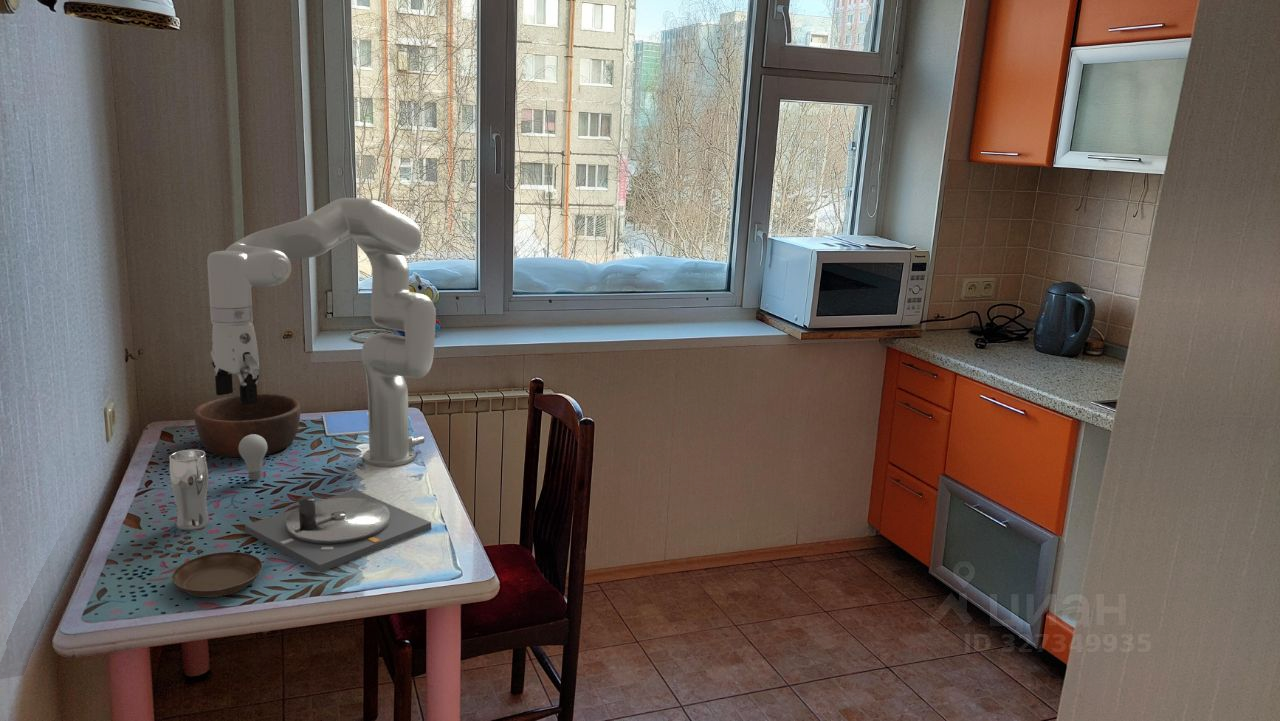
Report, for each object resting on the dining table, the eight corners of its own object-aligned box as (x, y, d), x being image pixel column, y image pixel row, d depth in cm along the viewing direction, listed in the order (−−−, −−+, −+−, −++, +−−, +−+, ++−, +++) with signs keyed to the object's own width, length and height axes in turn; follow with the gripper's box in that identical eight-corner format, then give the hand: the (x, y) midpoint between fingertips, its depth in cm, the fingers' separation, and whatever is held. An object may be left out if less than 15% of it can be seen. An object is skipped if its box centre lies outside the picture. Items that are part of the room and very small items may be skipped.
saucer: (281, 575, 168) (280, 562, 167) (215, 611, 155) (214, 597, 154) (222, 558, 174) (221, 544, 173) (153, 591, 161) (152, 577, 160)
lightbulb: (275, 478, 212) (272, 433, 210) (254, 487, 207) (251, 441, 204) (255, 473, 215) (253, 429, 212) (234, 482, 209) (231, 436, 207)
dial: (351, 495, 200) (350, 464, 198) (410, 521, 188) (409, 488, 186) (266, 523, 184) (264, 490, 183) (324, 553, 173) (322, 518, 171)
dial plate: (355, 495, 204) (354, 488, 204) (431, 529, 189) (431, 521, 189) (245, 531, 184) (244, 524, 184) (320, 572, 169) (319, 564, 169)
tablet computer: (322, 417, 259) (322, 413, 259) (368, 414, 264) (368, 410, 263) (326, 439, 242) (326, 434, 241) (375, 435, 246) (375, 430, 246)
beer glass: (175, 519, 189) (169, 450, 185) (212, 515, 191) (207, 447, 188) (173, 533, 183) (166, 462, 179) (211, 528, 185) (206, 458, 182)
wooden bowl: (301, 426, 249) (300, 390, 247) (303, 457, 227) (301, 417, 224) (200, 433, 241) (197, 396, 238) (191, 466, 218) (188, 425, 215)
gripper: (273, 319, 176) (277, 404, 180) (228, 306, 186) (233, 387, 190) (235, 323, 170) (240, 412, 174) (191, 310, 181) (197, 393, 185)
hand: (236, 399), depth 182 cm, fingers open, 9 cm apart
